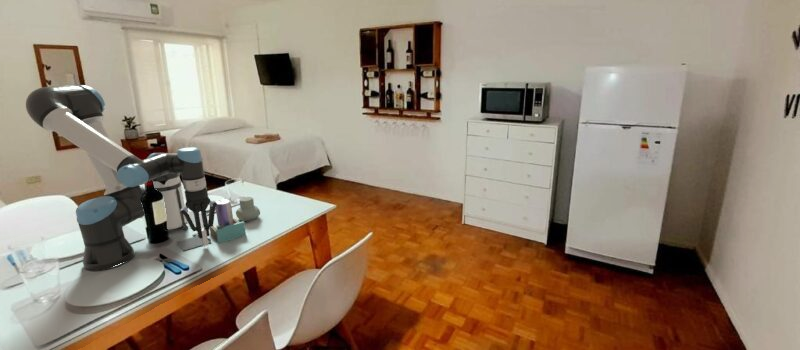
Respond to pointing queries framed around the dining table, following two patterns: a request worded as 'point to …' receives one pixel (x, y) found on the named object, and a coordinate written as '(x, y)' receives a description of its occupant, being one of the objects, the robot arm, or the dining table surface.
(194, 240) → the mat
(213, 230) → the holder
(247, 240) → the dining table surface
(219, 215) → the beverage can
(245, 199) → the air freshener
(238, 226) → the teal box
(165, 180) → the coffee press
